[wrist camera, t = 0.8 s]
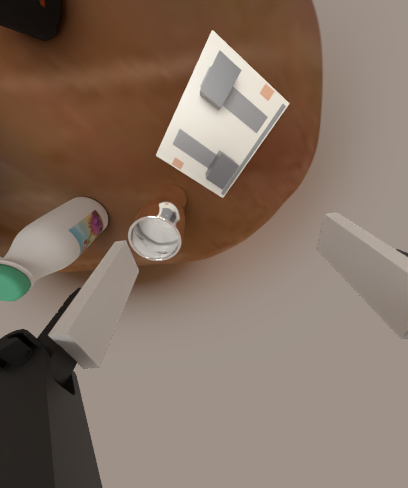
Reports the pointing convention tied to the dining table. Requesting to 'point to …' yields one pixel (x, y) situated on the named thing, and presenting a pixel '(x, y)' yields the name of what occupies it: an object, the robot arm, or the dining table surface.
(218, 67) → the tab
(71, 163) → the dining table surface
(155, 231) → the beer glass
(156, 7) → the dining table surface
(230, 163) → the tab
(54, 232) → the milk bottle
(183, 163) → the switch panel
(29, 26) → the portable speaker
